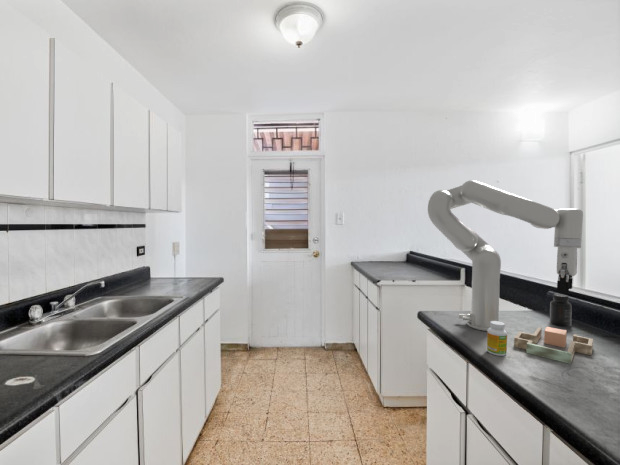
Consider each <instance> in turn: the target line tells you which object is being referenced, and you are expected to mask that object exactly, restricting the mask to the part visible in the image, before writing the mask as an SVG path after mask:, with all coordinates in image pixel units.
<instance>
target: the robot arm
mask: <svg viewBox="0 0 620 465" xmlns="http://www.w3.org/2000/svg"><path fill="white" fill-rule="evenodd" d="M469 204H474V205H476V206H478V207H480V208H481V207H482V208H483V209H487V210H489V211H491V212H493V213H496V214H499V215H503V216H508V217H512V218H515V219H517V220H520V221H522V222H526V223H528V224H530V225H531V226H532V227H534V228H537V229H542V230H543V229H544V230H548V229H552V228H554V235H553V236H554V238H553V247H554V248H557V253H556V274H557V276H558V277H557V281H556V282H557V283H556V292H558V293H561V294H569V292H570V290H573V281H574V280H573V277H575V276H576V275H577V273H578V249H581V248H582V239H583V238H582V234H583V221H584V218H583V217H584V213H583V212H584V211H583V210H582V209H581V208H559V209H554V208H552V207H550V206H548V205H544V204H542V203H539V202H537V201H533V200H531V199H528V198H525V197H523V196H519V195H516V194H514V193H510V192H508V191H505V190H502V189H500V188H497V187H494V186H491V185H489V184H487V183H484V182H480V181H477V180H475V179H474V180H472V179H469V180H468V181H465V182H464V183H462V185H459V186H457V187H456V186H455V187H453V188H450V189H445V190H444V189H438V190H436V191H434V192H433V193H432V194H431V196H430V197H429V200H428V204H427V214H428V218H429V220H430V221H431V223H432V224H433V226H435V228H436V229H438V231H440V233H441V234H442V235H443V236H444V237H445V238H447V240H449V242H450V243H451V244H452V245H454V247H455V248H456V249H457V250H459V251H461V252H462V253H463V254H464V255H465V256H466V257H467V258H468V259H470V260H471V261H472V262H471V263H472V267H471V271H472V272H471V308H470V309H471V311H470V312H469V313H466V314H464V313H458V316H457V317H458V319H459V320H460V319H462V320H463V321H466V325H467V326H468V327H470V328H472V329H475V330H478V331H483V332H488V328H490V322H491V321H499V319H500V318H499V317H500V313H499V312H500V279H501V268H502V259H501V256H500V254H499V252H498V251H497V250H496V249H495V248H493V247H492V246H491V245H490V244H489V243H488V242H486V241H485V240H484V239H483V238H482V237H481V236H480V234H478V233H477V232H475V230H473V229H471V228H470V227H468V226H467V225H465V223H463V222H462V220H460V219H459V218H458V217H457V216H456V215H455V214H454V213H453V212H452V209H456V208H459V207H462V206H466V205H469ZM499 322H500V321H499Z"/></svg>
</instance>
